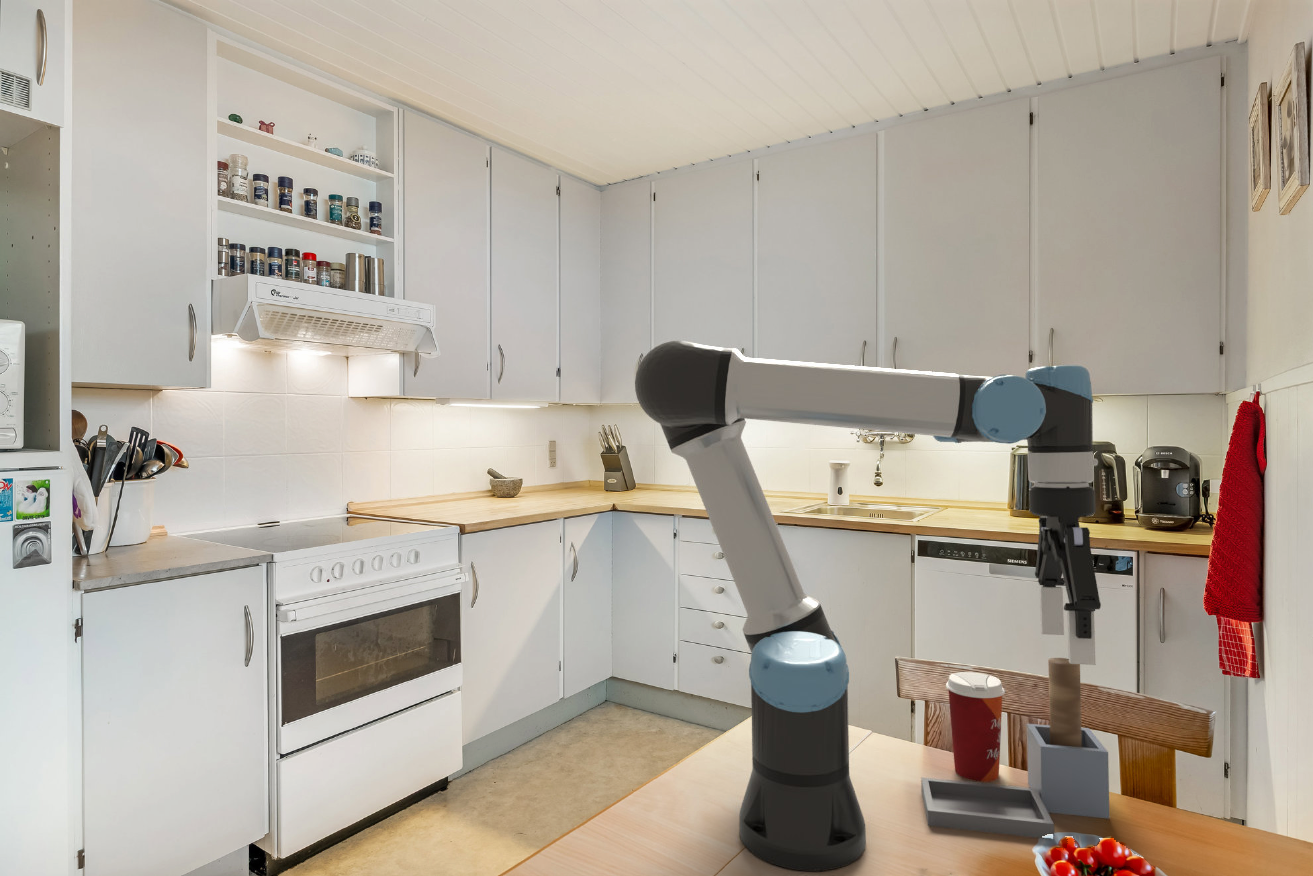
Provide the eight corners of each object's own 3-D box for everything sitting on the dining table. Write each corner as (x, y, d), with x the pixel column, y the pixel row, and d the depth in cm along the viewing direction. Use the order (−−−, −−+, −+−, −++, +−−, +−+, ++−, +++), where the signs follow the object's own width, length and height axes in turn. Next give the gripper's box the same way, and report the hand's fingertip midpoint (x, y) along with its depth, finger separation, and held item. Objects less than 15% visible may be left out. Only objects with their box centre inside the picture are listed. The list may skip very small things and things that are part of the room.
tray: (928, 831, 90) (927, 810, 90) (921, 796, 98) (921, 777, 98) (1054, 846, 86) (1053, 824, 86) (1035, 808, 95) (1035, 788, 95)
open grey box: (1042, 817, 92) (1040, 746, 92) (1028, 789, 100) (1026, 723, 100) (1109, 824, 90) (1108, 752, 90) (1090, 795, 98) (1089, 728, 98)
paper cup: (1013, 793, 99) (1011, 689, 99) (953, 788, 100) (951, 686, 100) (998, 767, 107) (996, 671, 107) (942, 763, 108) (940, 669, 108)
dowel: (1055, 805, 94) (1052, 665, 94) (1047, 792, 97) (1045, 657, 97) (1086, 808, 93) (1083, 667, 93) (1078, 795, 96) (1075, 658, 96)
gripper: (1128, 491, 82) (1134, 680, 82) (1066, 478, 106) (1070, 624, 106) (1054, 492, 84) (1060, 676, 84) (1009, 479, 108) (1014, 622, 108)
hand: (1066, 648), depth 95 cm, fingers open, 13 cm apart
